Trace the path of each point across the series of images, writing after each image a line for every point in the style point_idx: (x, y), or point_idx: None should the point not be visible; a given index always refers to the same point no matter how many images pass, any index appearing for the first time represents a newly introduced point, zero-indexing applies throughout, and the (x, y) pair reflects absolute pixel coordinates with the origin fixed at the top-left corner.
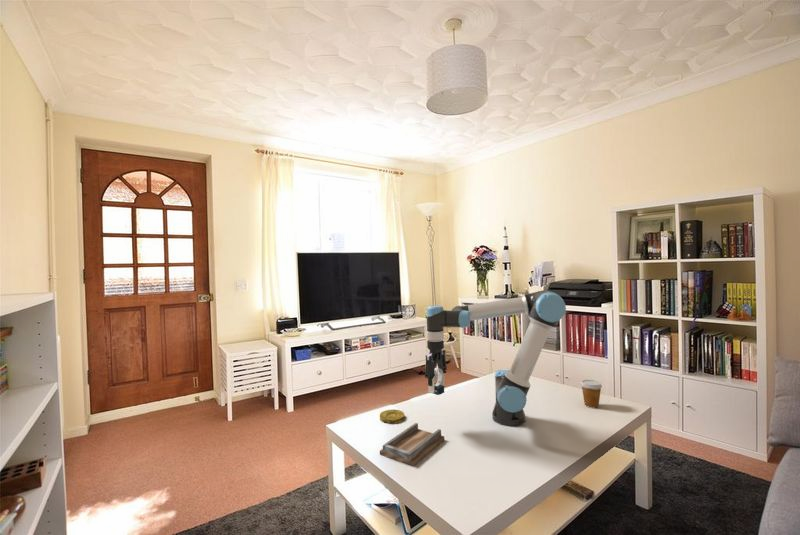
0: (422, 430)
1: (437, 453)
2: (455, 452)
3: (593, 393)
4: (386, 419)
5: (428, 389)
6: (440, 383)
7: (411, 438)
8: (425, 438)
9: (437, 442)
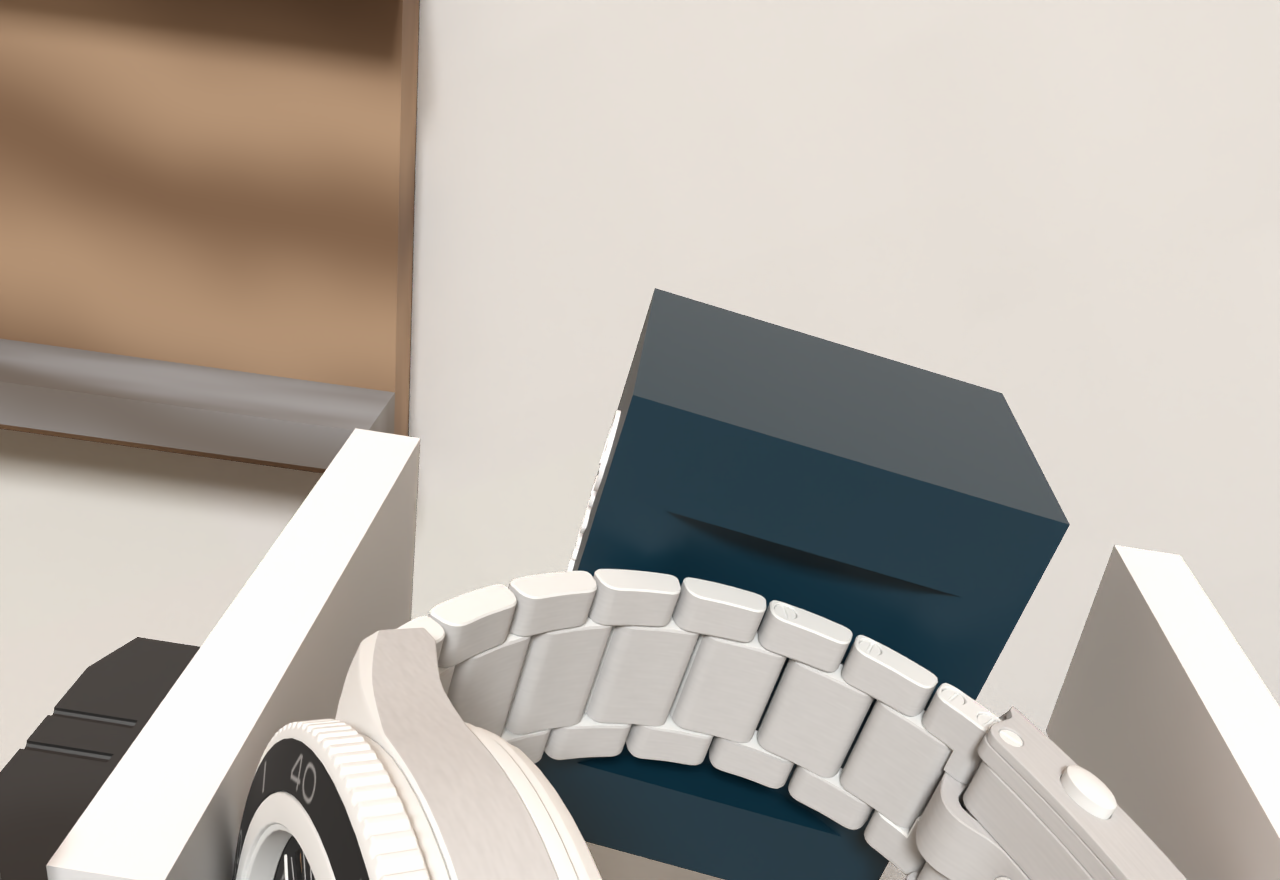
0: (391, 80)
1: (41, 493)
2: None
3: None
4: None
5: (322, 485)
6: (894, 849)
7: (34, 29)
8: (174, 251)
9: (184, 452)
